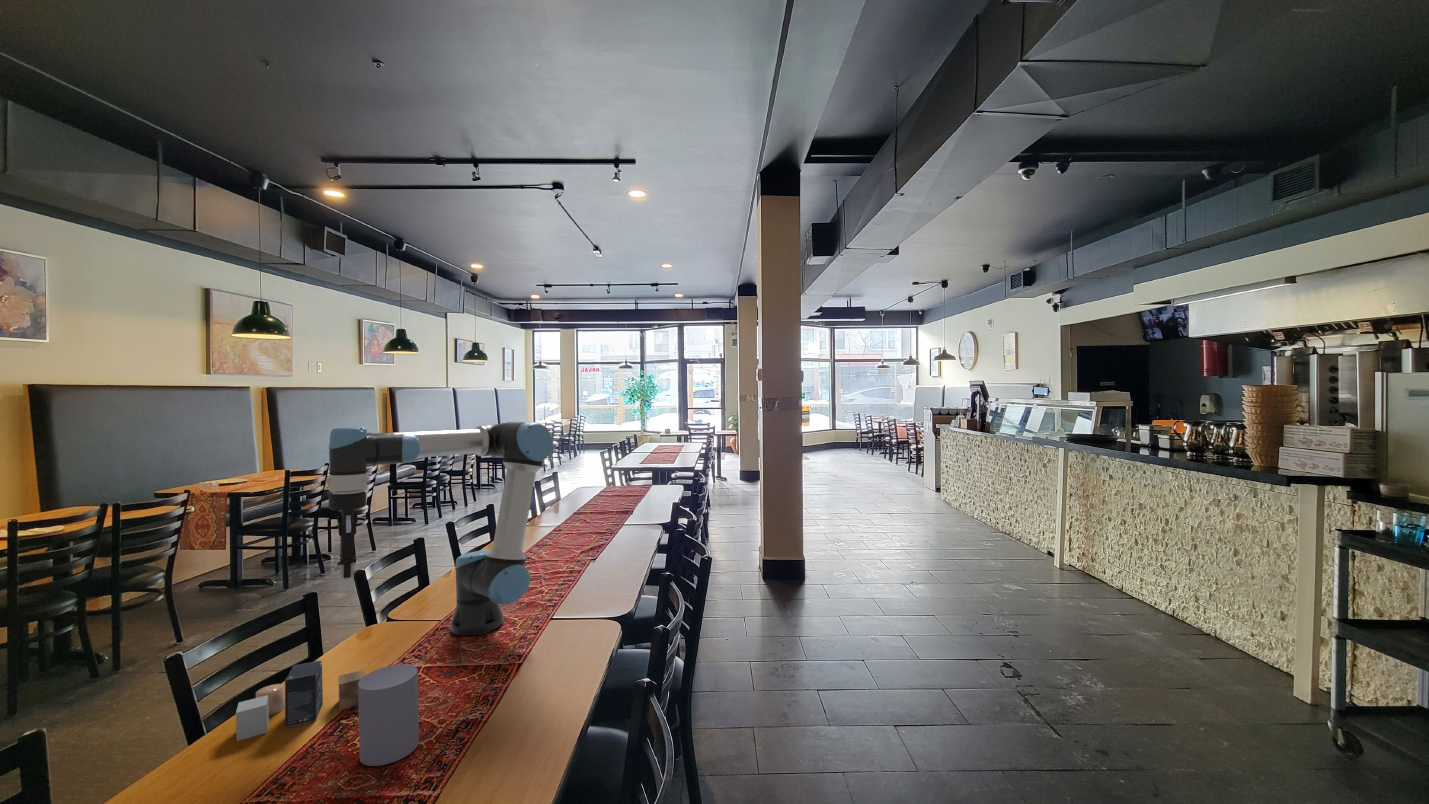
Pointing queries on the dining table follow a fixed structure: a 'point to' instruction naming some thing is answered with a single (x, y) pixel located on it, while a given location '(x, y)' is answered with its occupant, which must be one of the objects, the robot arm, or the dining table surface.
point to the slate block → (252, 717)
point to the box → (303, 693)
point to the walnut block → (349, 689)
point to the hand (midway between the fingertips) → (346, 590)
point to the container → (388, 714)
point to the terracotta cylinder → (273, 697)
